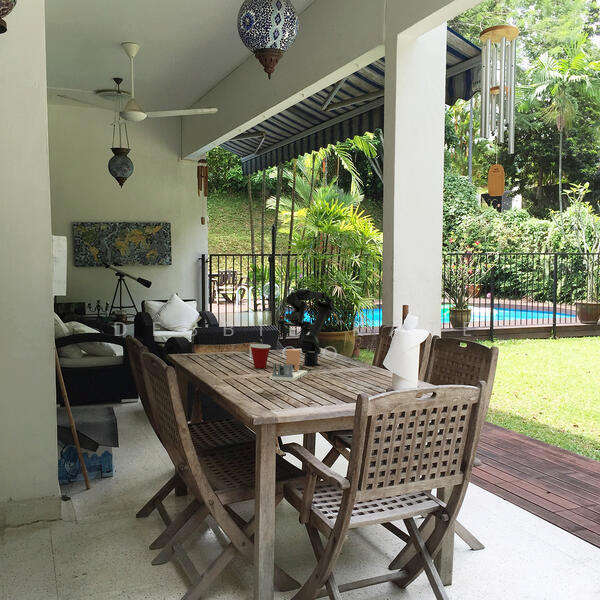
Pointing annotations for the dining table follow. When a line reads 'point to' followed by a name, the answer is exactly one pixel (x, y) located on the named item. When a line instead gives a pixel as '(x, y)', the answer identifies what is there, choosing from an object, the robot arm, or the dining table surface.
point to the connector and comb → (286, 369)
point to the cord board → (295, 376)
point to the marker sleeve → (293, 358)
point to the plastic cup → (260, 354)
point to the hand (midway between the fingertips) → (291, 340)
